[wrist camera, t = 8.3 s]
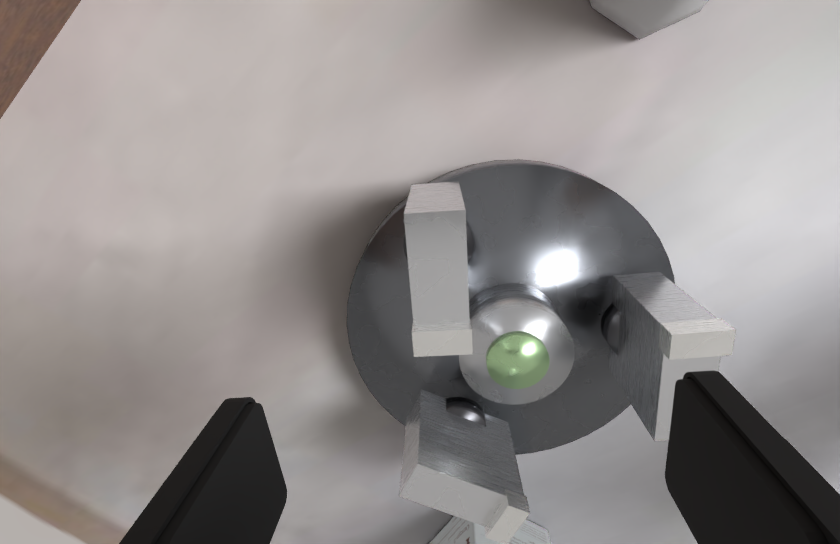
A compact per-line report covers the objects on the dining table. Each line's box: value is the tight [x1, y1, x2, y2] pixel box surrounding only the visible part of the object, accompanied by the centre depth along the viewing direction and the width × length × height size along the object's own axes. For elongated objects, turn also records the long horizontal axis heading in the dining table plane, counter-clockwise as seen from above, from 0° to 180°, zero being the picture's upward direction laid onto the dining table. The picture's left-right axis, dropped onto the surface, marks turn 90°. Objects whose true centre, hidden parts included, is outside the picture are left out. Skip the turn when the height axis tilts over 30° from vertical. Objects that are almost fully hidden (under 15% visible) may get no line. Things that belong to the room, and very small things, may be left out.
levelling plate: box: [347, 160, 675, 455], centre depth 25 cm, size 19×19×6 cm
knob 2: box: [600, 271, 736, 441], centre depth 22 cm, size 4×6×7 cm, turn 7°
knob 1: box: [399, 389, 530, 544], centre depth 25 cm, size 4×6×7 cm, turn 67°
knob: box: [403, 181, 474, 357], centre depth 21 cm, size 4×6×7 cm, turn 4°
